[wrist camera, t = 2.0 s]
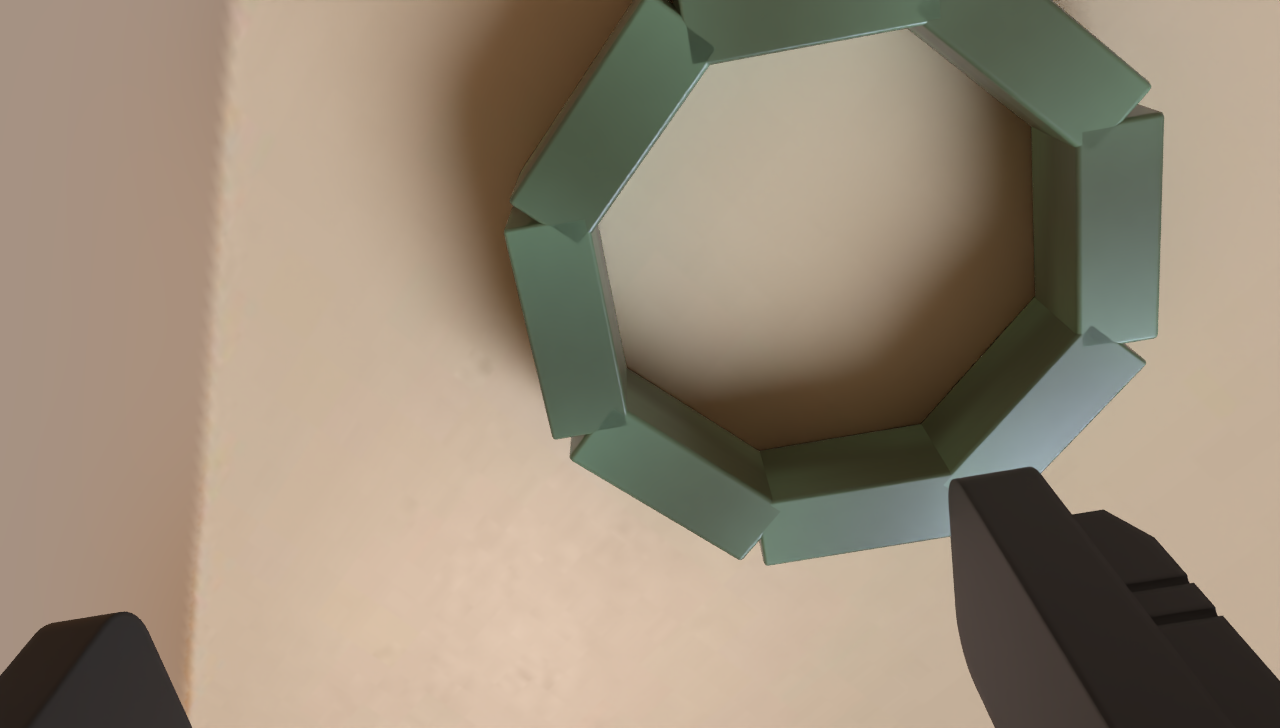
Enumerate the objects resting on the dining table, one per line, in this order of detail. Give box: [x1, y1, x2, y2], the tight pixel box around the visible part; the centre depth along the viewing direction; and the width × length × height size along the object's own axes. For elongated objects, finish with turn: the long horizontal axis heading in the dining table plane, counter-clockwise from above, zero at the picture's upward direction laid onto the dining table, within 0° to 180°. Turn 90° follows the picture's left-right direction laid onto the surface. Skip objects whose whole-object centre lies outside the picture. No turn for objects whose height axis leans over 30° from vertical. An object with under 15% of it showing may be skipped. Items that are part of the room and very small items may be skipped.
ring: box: [504, 0, 1164, 566], centre depth 18 cm, size 11×11×2 cm
